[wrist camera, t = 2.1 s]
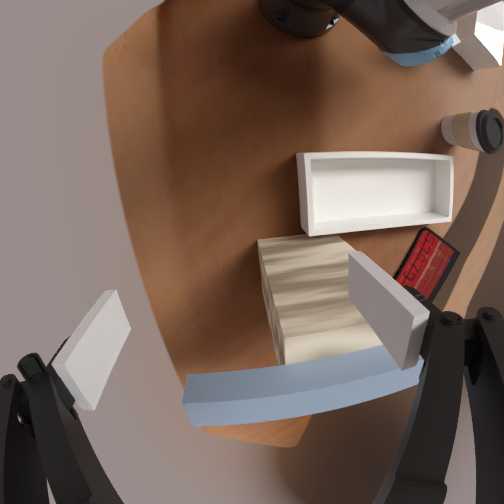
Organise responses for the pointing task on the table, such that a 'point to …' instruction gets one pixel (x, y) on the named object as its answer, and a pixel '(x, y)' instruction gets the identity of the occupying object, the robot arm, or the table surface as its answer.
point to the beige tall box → (311, 298)
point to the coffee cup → (474, 131)
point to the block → (294, 388)
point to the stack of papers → (482, 37)
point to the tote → (372, 190)
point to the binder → (427, 264)
